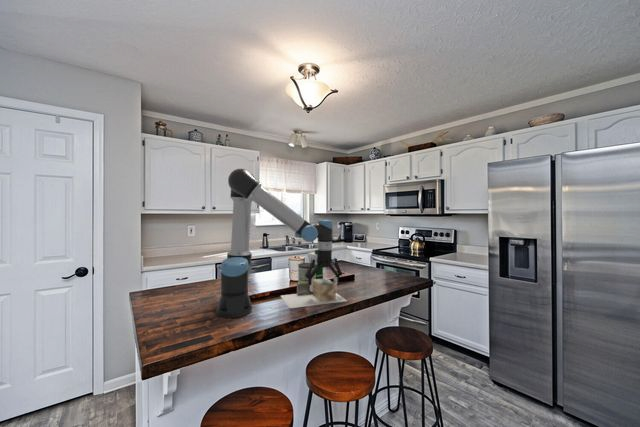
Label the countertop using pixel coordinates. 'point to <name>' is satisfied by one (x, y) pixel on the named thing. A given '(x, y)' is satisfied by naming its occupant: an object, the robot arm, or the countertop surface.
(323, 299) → the beige rounded block
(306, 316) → the countertop surface
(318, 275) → the milk carton
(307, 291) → the ledge rail
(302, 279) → the coffee can
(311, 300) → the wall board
